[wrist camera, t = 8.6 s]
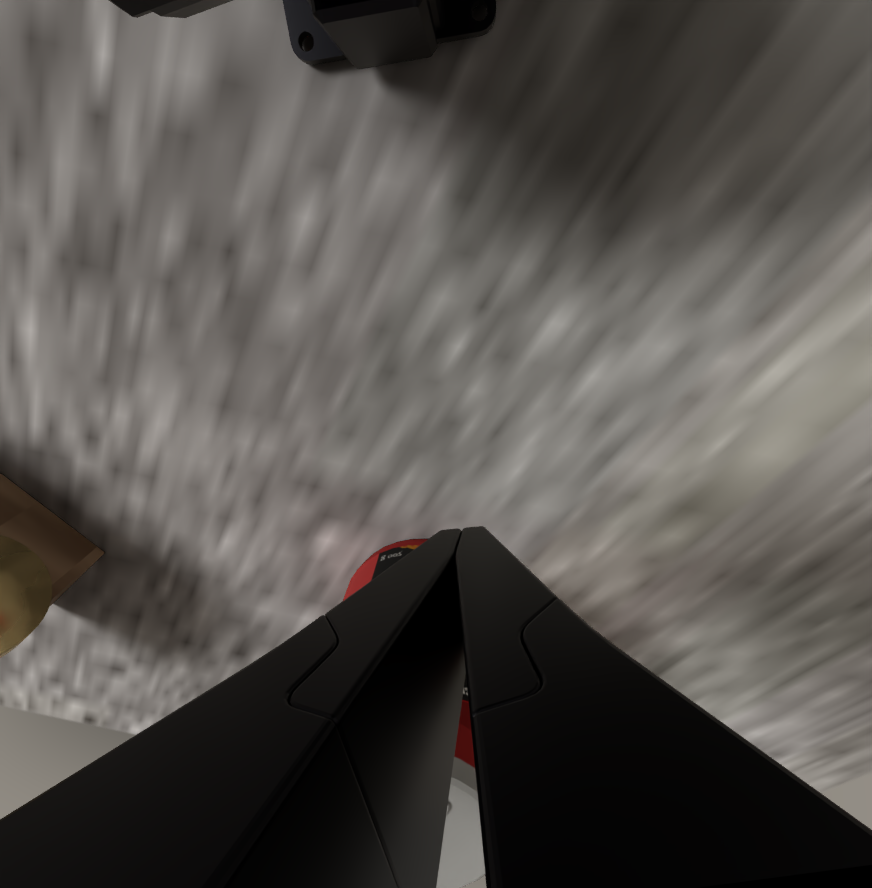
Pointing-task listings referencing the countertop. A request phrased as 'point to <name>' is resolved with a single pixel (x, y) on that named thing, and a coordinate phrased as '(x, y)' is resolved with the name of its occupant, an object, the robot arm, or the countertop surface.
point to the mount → (45, 537)
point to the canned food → (462, 817)
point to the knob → (21, 593)
